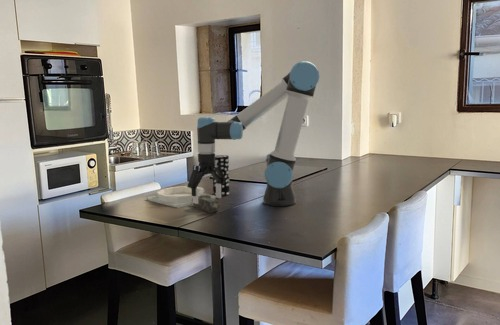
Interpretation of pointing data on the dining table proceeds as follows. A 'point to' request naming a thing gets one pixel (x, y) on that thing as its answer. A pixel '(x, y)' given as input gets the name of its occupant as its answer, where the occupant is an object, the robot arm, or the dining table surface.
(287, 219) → the dining table surface
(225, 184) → the spotted tube
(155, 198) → the tray
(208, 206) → the stone
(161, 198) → the bowl
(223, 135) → the robot arm
